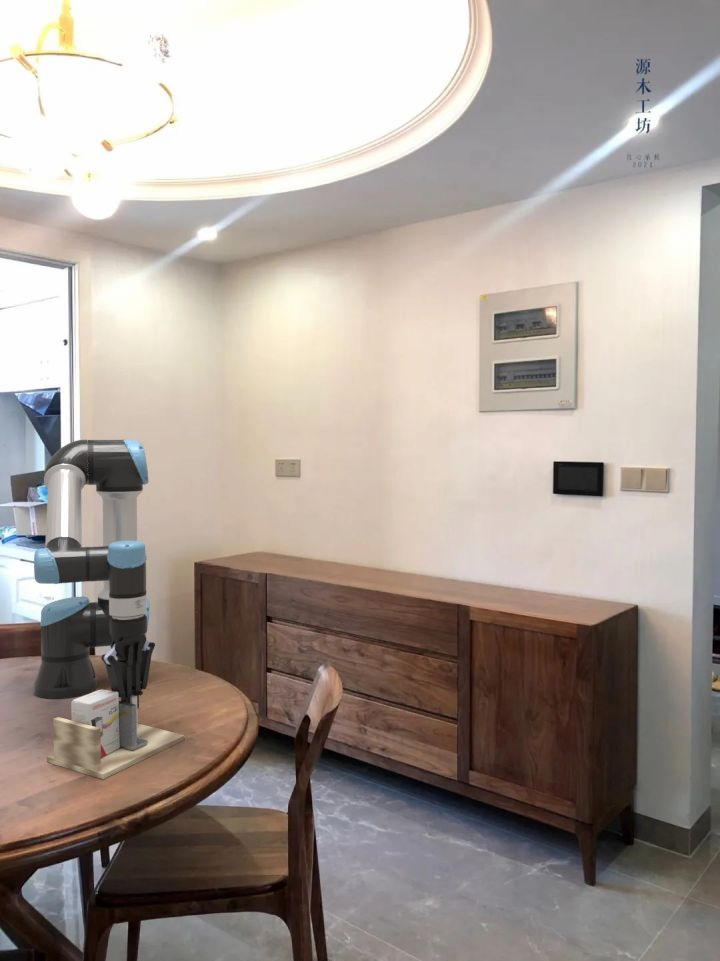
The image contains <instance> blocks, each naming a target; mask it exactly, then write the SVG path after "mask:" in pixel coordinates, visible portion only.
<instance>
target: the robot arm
mask: <svg viewBox="0 0 720 961" xmlns="http://www.w3.org/2000/svg"><path fill="white" fill-rule="evenodd" d="M43 483H44V486H45V488H46V489H47V503H46V506H47V507H46V522H45V523H46V525H45V544H44V547H43V548H37V550H35V551H34V556H33V559H34V560H33V573H34V574H33V575H34V580H35V582H36V583H38V584H44V585H45V584H48V585H49V584H54V585H59V584H68V583H69V584H70V583H84V582H103V588H102V590H101V591H100V592H99V593H98V594H97V601H94V602H92V601H91V602H90V599H89V597H87V596H73V597H66V598H62V599H57V600H54V601H51V602H49V603H46V605H44V606H43V607H42V609H41V610H40V611H41V612H40V622H39V626H40V638H41V639H40V653H41V654H40V656H41V657H40V658H41V663H40V665H39V669H38V672H37V675H36V679H35V682H34V687H33V688H34V690H33V692H34V695H35V696H37V697H40V698H44V699H66V698H73V697H79V696H84V695H87V694H90V693H92V692H94V691H95V690H96V689H97V687H98V677H97V674H96V672H95V668H94V666H93V663H92V661H91V658H90V648H102V647H110V650H109V651H108V652H107V654H102V655H101V658H100V659H101V661H102V662H103V663H104V665H105V669H106V673H107V677H108V681H109V685H110V689H111V690H110V691H115V692H118V697H119V698H120V701H122V702H126V703H131V704H135V705H136V713H137V714H138V710H140V696H142V695H143V693H144V691H143V690H146V689H147V687H148V686H147V685H148V680H149V674H150V667H151V662H152V654H153V652H154V649H155V646H156V643H155V642H152V641H149V640H147V633H148V628H149V619H150V599H149V598H147V557H148V556H147V553H146V545H145V543H144V542H143V541H141V540H140V541H139V540H138V497H139V496H140V495H141V494H142V493H143V491H144V490H143V488H144V487H143V486H144V485H145V486H146V485H147V484H149V470H148V463H147V458H146V452H145V448H144V445H143V443H142V442H140V441H139V440H133V439H77V440H74V441H71V442H69V443H67V444H65V445H64V446H62V447H60V448H59V449H58V450H56V452H55V453H54V454H53V455H52V456H51V457H50V459H49V460H48V462H47V464H46V466H45V469H44V474H43ZM85 485H87V486H90V485H91V486H92V485H93V486H95V489H96V490H95V491H96V493H97V494H98V495H99V496H100V497H101V498H102V546H82V545H83V544H82V543H83V542H82V541H83V540H82V538H83V537H82V535H83V534H82V533H83V532H82V530H83V529H82V528H83V527H82V524H83V523H82V490H83V488H84V487H85ZM138 724H139V722H138V717H137V727H138Z"/></svg>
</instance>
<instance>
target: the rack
mask: <svg viewBox="0 0 720 961" xmlns="http://www.w3.org/2000/svg"><path fill="white" fill-rule="evenodd" d="M52 720H53V722H52V723H53V724H52V725H53V729H52V730H53V731H52V732H53V754H51V755H48V756H46V763H50V764H52V765H56V766H59V767H63V768H65V769H69V770H72V771H75V772H78V773H81V774H85V775H87V776H90V777H94V778H97V779H100V780H105V779H108V777H111V776H113V775H115V774H117V773H119V772H121V771H123V770H126V769H127V768H129V767H132V766H133V765H135V764H137V763H139V762H141V761H144V760H145V759H148V758H150V757H152V756H154V755H156V754H159V753H160V752H162V751H164V750H166V749H168V748H171V747H173V746H174V745H177V744H179V743H181V742H183V741H185V735H184V734H181V733H177V732H172V731H170V730H169V731H168V730H165V729H161V728H157V727H153V726H149V725H146V724H141V723H138V727H137V738H140V739H144V740H148V744H145V745H143V746H141V747H139V748H137V749H135V750H129V749H125V748H122V747H120V748H118V749H116V750H114V751H112V752H111V753H109V754H107V755H105V756H103V757H101V736H100V728H98V727H94V726H90V725H86V724H83V723H79V722H75V721H72V719H67V718H63V717H60V716H57V717H55V718H53V719H52Z"/></svg>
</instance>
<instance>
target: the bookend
mask: <svg viewBox="0 0 720 961" xmlns="http://www.w3.org/2000/svg"><path fill="white" fill-rule="evenodd" d="M137 718H138V712H137V713H136V705H135V704H131V703H126V702H122V701H121V700H119V738H120V747H122V748H125V749H129V750H135V749H137V748H139V747H141V746H143V745H145V744H148V740H144V739H140V738H137Z"/></svg>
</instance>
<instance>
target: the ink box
mask: <svg viewBox="0 0 720 961" xmlns="http://www.w3.org/2000/svg"><path fill="white" fill-rule="evenodd" d="M119 698H120V697H118V692H115V691H112V690H107V689H98V690H94V691H92V692H89V693H86V694H84V695H81V696H80V697H79V696H78V697H77V698H74V699H73V700H72V701H70V702H71V704H70V706H71V721H75V722H79V723H83V724H86V725H90V726H94V727H98V728H100V736H101V757H103V756H105V755H107V754H109V753H111V752H112V751H114V750H116V749H118V748H120V738H119V701H120V700H119Z"/></svg>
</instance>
